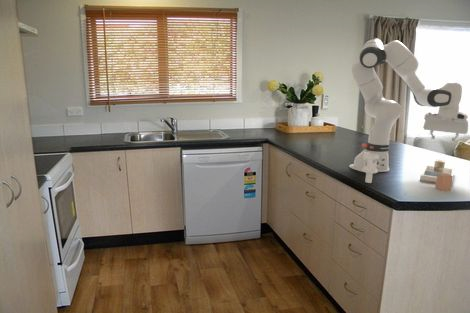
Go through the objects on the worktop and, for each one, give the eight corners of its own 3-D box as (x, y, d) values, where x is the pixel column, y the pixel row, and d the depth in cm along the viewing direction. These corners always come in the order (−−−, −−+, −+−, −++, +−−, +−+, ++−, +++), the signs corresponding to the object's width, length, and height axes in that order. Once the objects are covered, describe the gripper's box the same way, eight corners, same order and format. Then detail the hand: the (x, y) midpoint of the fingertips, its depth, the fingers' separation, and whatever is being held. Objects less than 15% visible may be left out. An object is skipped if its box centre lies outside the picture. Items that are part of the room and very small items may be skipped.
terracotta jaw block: (450, 190, 166) (452, 176, 165) (441, 190, 166) (443, 176, 164) (444, 187, 171) (446, 173, 169) (435, 187, 170) (437, 173, 169)
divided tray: (451, 186, 173) (452, 180, 172) (419, 180, 180) (420, 175, 179) (453, 174, 193) (454, 169, 193) (424, 170, 201) (425, 165, 200)
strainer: (360, 179, 181) (363, 150, 177) (375, 180, 179) (378, 151, 175) (361, 183, 174) (364, 153, 170) (376, 184, 172) (380, 154, 168)
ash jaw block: (433, 173, 191) (435, 161, 189) (433, 171, 194) (435, 159, 193) (442, 175, 188) (444, 162, 187) (443, 173, 192) (445, 160, 191)
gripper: (424, 112, 187) (420, 138, 190) (470, 116, 176) (465, 143, 179) (426, 111, 192) (421, 136, 195) (470, 115, 181) (465, 142, 185)
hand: (442, 140), depth 187 cm, fingers open, 8 cm apart
